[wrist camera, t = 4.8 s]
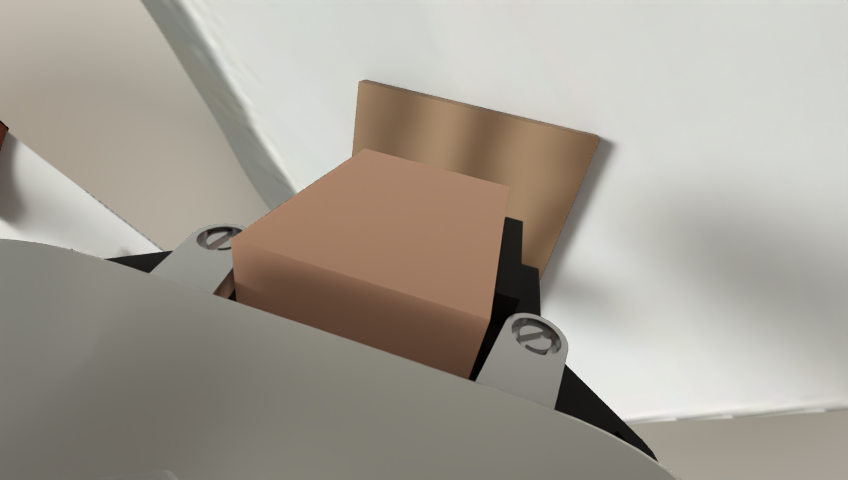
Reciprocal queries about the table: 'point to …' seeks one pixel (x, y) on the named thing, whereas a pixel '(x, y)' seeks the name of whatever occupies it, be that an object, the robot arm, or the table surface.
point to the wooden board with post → (483, 154)
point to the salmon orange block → (382, 258)
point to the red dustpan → (2, 132)
